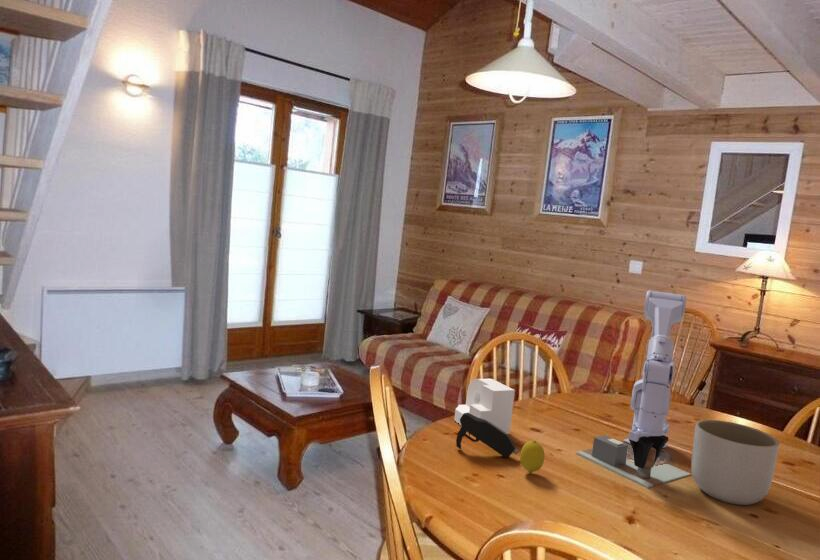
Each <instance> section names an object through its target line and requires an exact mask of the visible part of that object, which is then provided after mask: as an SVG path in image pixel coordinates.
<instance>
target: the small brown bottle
mask: <svg viewBox="0 0 820 560" xmlns="http://www.w3.org/2000/svg"><path fill="white" fill-rule="evenodd" d="M655 455H656V449H655V448H653V447H652V448H651V449H650V451H649V454H648V457H647V460H646V464H645V467H644V468H643V469H642V468H639V467H638V469H637V476H638V477H641V478H644V479H650V474H651V468H652V467H654V461H655Z"/></svg>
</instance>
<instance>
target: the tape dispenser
mask: <svg viewBox="0 0 820 560" xmlns="http://www.w3.org/2000/svg"><path fill="white" fill-rule="evenodd" d="M515 393H516V390H515V389H514V388H511V387H509V386H508V385H505V384H504V383H501V382H500V381H497V380H495V379H493V378H474V379H472V380H471V381H470V382H469V384H468V386H467V392H466V400H465V404H458V406H457V407H456V408H455V410H454V417H453V418H454V419H453V421H454V420H455V421H456V423H457V424H458V423H459V424H458V425H460V426H461V423H460V418H461V417H462V415H463V414H464V413H470V414H472V415H474V416H476V417H477V418H481V419H484V420H486V421H488V422H491V423H492V424H494V425H495V426H497V427H498V428H500V429H501V430H503V431H504V432H506V434H507V435H509V434H510V433H511V424H512V416H513V410H514V409H513V408H514V399H515ZM455 421H454V422H455Z"/></svg>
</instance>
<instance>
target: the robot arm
mask: <svg viewBox="0 0 820 560" xmlns="http://www.w3.org/2000/svg"><path fill="white" fill-rule="evenodd" d="M686 305H687V296H686V295H685V294H680V293H670V292H664V291H662V292H661V291H656V290H651V289H649V290H648V291H646V295H645V300H644V313H643V316H644V318H646V319H648V320H649V321H650V322H651V326H652V330H651V335H650V338H649V341H648V347H647V354H646V360H645V361H644V364H643V371H642V378H641V379H639V380H637V381H635V383H634V384H633V388H632V393H631V398H630V399H631V400H630V409H631V411H633V419H632V420H633V421H632V426H631V430H629V432H628V438H624V439H623V442H625V443H626V444H629V445H630V446H631V448H632V450H633V456H634V464H635V466H637V467H639V468H642V469H643V468H644V467H645V464H646V460H647V457H648V454H649V451H650V449H651V448H652V447H653V448H655V449H656V455H655V461H654V464H655V463H656V460H657V459H659V455H660V454H661V452H662V450H663V449H664V448H668V446H669V445H668V444H667V443H668V441H669V437H668V436H667V434H669V431H670V425H669V424H668V420H667V417H666V416H668V415H669V411H670V403H671V389H670V388H671V387H672V385H673V381H674V375H675V364H674V359H673V358H674V357H673V356H674V347H675V344H674V341H673V340H672V339H671V338H670V336H671V331H672V326H673V324H679V323H681V321H682V320H683V317H684V316H685V311H686Z"/></svg>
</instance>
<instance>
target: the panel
mask: <svg viewBox="0 0 820 560" xmlns="http://www.w3.org/2000/svg"><path fill="white" fill-rule="evenodd" d="M592 450H593V448H589V449H584V450H579V451H576V453H575V454H576V455H577V456H579V457H582V458H584V459H586V460H588V461H590V462H592V463H595V464H596V465H598V466H600V467H603V468H604V469H606V470H608V471H611V472H613V473H615V474H617V475H619V476H621V477H622V478H625V479H628V480H630V481H631V482H634V483H636V484H638V485H640V486H641V487H643V488H646V489H649V488H652V487H655V486H656V487H657V486H660V485H663V484H666V483H670V482H672V481H673V482H674V481H675V480H679V479H682V478H685V477H688V476H691V475H692V473H690V472H687V471H686V470H682V469H681V468H678V467H676V466H673V465H672V464H669V463H667V464H663V465H658V466H655V465H654V467H652V468H651V474H650V479H644V478H641V477H638V476H637V469H638V467H637V466H635V464H634V463H632V462H630V461H628V460H626V464H624V465H620V466H616V467H614V466H612V465H609V464H607V463H605V462H603V461H601V460H599V459H597V458H595V457H593V456H592Z"/></svg>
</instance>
